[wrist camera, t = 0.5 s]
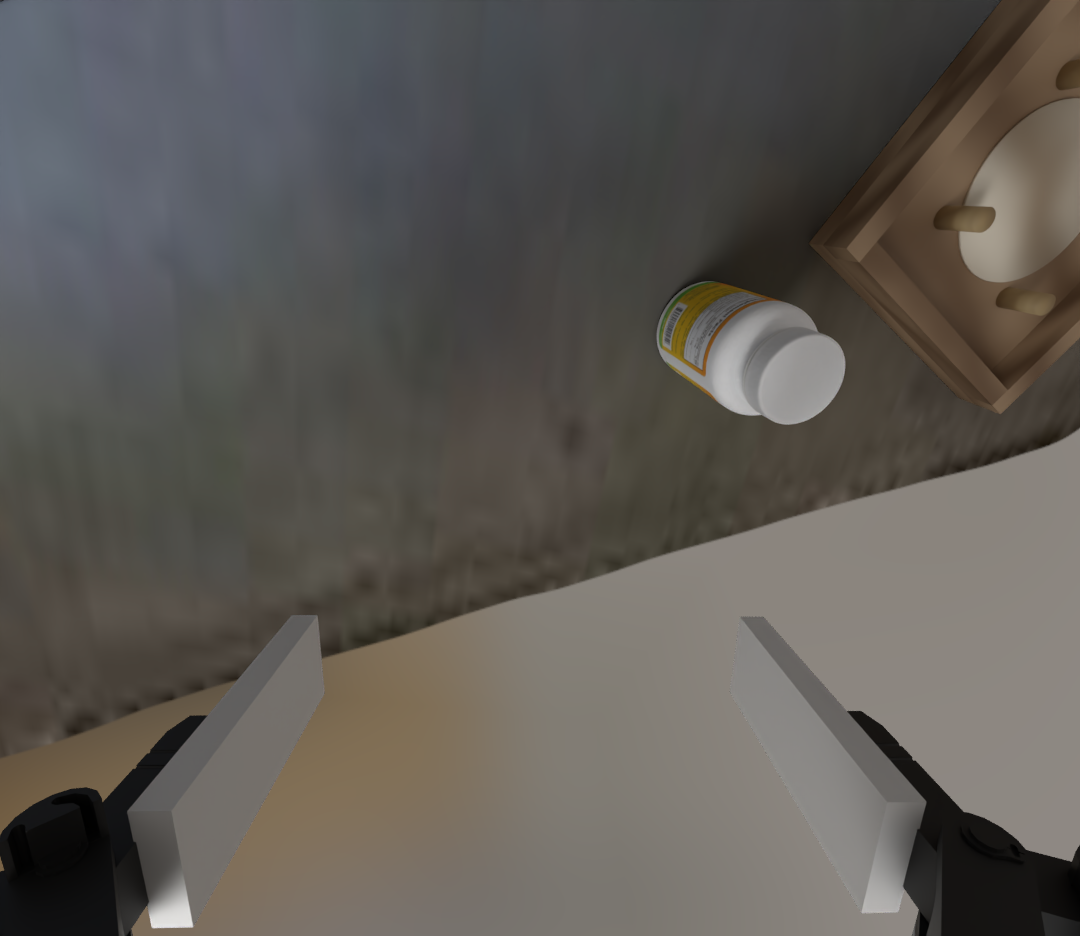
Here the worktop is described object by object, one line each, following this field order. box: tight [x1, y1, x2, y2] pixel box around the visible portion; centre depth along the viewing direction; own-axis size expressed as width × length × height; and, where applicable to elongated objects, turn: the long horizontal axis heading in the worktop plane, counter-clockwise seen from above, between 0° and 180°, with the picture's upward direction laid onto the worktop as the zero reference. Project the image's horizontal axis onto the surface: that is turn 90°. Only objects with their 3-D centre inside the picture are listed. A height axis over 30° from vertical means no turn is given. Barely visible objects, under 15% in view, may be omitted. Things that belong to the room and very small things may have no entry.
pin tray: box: [809, 0, 1080, 414], centre depth 28 cm, size 18×18×4 cm
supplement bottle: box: [657, 281, 845, 424], centre depth 25 cm, size 5×5×10 cm
